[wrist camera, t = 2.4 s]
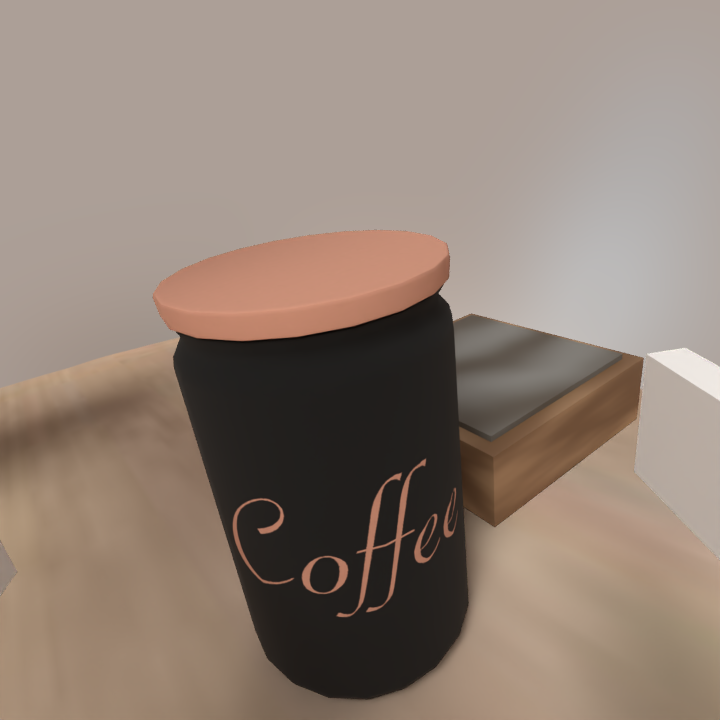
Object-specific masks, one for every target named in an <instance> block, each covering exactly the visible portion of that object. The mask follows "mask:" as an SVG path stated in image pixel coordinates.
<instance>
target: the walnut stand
mask: <svg viewBox="0 0 720 720" xmlns="http://www.w3.org/2000/svg"><path fill="white" fill-rule="evenodd" d="M453 326H454V337H455V357H456V376H457V395H458V414H459V433H460V453H461V472H462V491H463V507H465V508H466V509H468V510H469V511H471V512H472V513H474V514H476V515H477V516H479V517H480V518H482V519H483V520H485V521H486V522H488V523H489V524H491V525H492V526H494V527H495V526H497V525H498V524H499V523H501V522H502V521H503V520H505V519H506V518H507V517H509V516H510V515H511V514H512V513H514V512H515V511H516V510H518V509H519V508H520V507H522V506H523V505H524V504H525V503H527V502H528V501H529V500H531V499H532V498H533V497H535V496H536V495H537V494H539V493H540V492H541V491H542V490H544V489H545V488H546V487H548V486H549V485H550V484H552V483H553V482H554V481H556V480H557V479H558V478H559V477H561V476H562V475H563V474H565V473H566V472H567V471H569V470H570V469H571V468H572V467H574V466H575V465H576V464H578V463H579V462H580V461H582V460H583V459H584V458H586V457H587V456H588V455H589V454H591V453H592V452H593V451H595V450H596V449H597V448H599V447H600V446H601V445H603V444H604V443H605V442H606V441H608V440H609V439H610V438H612V437H613V436H614V435H616V434H617V433H618V432H619V431H621V430H622V429H623V428H625V427H626V426H627V425H629V424H630V423H631V422H633V421H634V420H635V419H636V418H637V410H638V402H639V393H640V383H641V376H642V368H643V359H644V358H642V357H638V356H634V355H630V354H626V353H622V352H619V351H615V350H611V349H607V348H603V347H599V346H595V345H592V344H588V343H584V342H580V341H576V340H572V339H568V338H564V337H560V336H557V335H552V334H549V333H545V332H541V331H537V330H533V329H529V328H525V327H521V326H518V325H513V324H510V323H506V322H502V321H498V320H494V319H490V318H487V317H482V316H479V315H475V314H469V315H467V316H464V317H462V318H460V319H457V320H455V321H453Z"/></svg>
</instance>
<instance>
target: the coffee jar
mask: <svg viewBox="0 0 720 720" xmlns="http://www.w3.org/2000/svg"><path fill="white" fill-rule="evenodd" d="M449 267H450V256H449V250H448V246H447V243H445V242H443V241H441V240H439V239H437V238H435V237H433V236H430V235H426V234H420V233H414V232H408V231H390V230H366V231H344V232H334V233H325V234H316V235H307V236H302V237H295V238H289V239H283V240H277V241H272V242H268V243H263V244H259V245H254V246H250V247H245V248H241V249H237V250H234V251H231V252H227V253H224V254H221V255H217V256H214V257H210V258H208V259H205V260H203V261H200V262H198V263H195V264H193V265H191V266H188V267H185V268H183V269H181V270H179V271H178V272H176V273H175V274H173V275H171V276H170V277H168V278H166V279H165V280H163V281H162V282H160V284H159V286H158V287H157V289H156V290H155V292H154V293H153V299H154V302H155V304H156V306H157V309H158V312H159V314H160V316H161V317H162V319H163V320H164V322H165V323H166V325H167V326H168V328H169V329H170V330H174V331H176V333H177V334H178V335H180V340H179V342H178V345H177V348H176V351H175V354H174V356H173V360H174V369H175V373H176V376H177V379H178V382H179V386H180V389H181V392H182V395H183V398H184V402H185V405H186V408H187V411H188V415H189V418H190V421H191V424H192V427H193V431H194V434H195V437H196V440H197V444H198V447H199V450H200V453H201V456H202V460H203V463H204V466H205V469H206V473H207V476H208V479H209V482H210V486H211V489H212V492H213V495H214V498H215V502H216V505H217V508H218V511H219V515H220V518H221V521H222V524H223V527H224V531H225V534H226V537H227V540H228V544H229V547H230V550H231V553H232V556H233V560H234V563H235V566H236V569H237V573H238V576H239V579H240V582H241V585H242V589H243V592H244V595H245V598H246V602H247V605H248V608H249V611H250V615H251V618H252V621H253V624H254V627H255V631H256V633H257V635H258V638H259V640H260V642H261V645H262V647H263V649H264V652H265V654H266V656H267V659H268V660H270V661H271V662H272V663H273V664H274V665H275V666H276V667H277V668H278V669H279V670H280V671H281V672H282V673H283V674H284V675H285V676H286V677H287V678H288V679H289V680H290V681H292V682H293V683H295V684H296V685H299V686H301V687H304V688H306V689H309V690H311V691H313V692H316V693H318V694H321V695H323V696H326V697H328V698H350V699H371V698H374V697H378V696H381V695H385V694H388V693H391V692H395V691H398V690H402V689H403V688H406V687H407V686H408V685H410V684H411V683H413V682H414V681H416V680H417V679H419V678H420V677H422V676H423V675H425V674H426V673H427V672H429V671H430V670H432V669H433V668H435V667H436V666H437V664H438V663H439V662H440V660H441V659H442V658H443V656H444V655H445V654H446V652H447V651H448V650H449V648H450V647H451V646H452V644H453V643H454V642H455V640H456V639H457V637H458V636H459V634H460V631H461V627H462V624H463V620H464V617H465V613H466V610H467V607H468V587H467V568H466V549H465V530H464V510H463V491H462V472H461V453H460V433H459V414H458V395H457V376H456V357H455V337H454V326H453V319H452V313H451V310H450V306H449V304H448V303H447V302H446V301H445V300H444V299H443V298H442V297H441V296H440V295H439V294H438V293H439V291H440V290H441V288H442V286H443V285H444V283H445V282H446V280H448V278H449Z"/></svg>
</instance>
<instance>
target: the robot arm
mask: <svg viewBox="0 0 720 720" xmlns="http://www.w3.org/2000/svg"><path fill="white" fill-rule="evenodd" d="M634 472H635V473H636V474H637V475H638V476H639V477H640V478H641V479H642V481H643V482H644V483H645V484H646V485H647V486H648V487H649V488H650V489H651V490H652V491H653V492H654V493H655V494H656V495H657V496H658V497H659V498H660V499H661V500H662V501H663V502H664V503H665V504H666V505H667V506H668V507H669V508H670V509H671V510H672V512H673V513H674V514H675V515H676V516H677V517H678V518H679V519H680V520H681V521H682V522H683V523H684V524H685V525H686V526H687V527H688V528H689V529H690V530H691V531H692V532H693V533H694V534H695V535H696V536H697V537H698V538H699V539H700V540H701V542H702V543H703V544H704V545H705V546H706V547H707V548H708V549H709V550H710V551H711V552H712V553H713V554H714V555H715V556H716V557H717V558H718V559H719V560H720V367H719V366H717V365H716V364H714V363H712V362H710V361H708V360H707V359H705V358H703V357H701V356H699V355H697V354H696V353H694V352H692V351H690V350H688V349H687V348H681V349H674V350H668V351H662V352H656V353H649V354H646V362H645V372H644V381H643V391H642V400H641V410H640V419H639V429H638V439H637V448H636V458H635V467H634ZM16 573H17V570H16V568H15V566H14V564H13V563H12V561H11V559H10V557H9V555H8V554H7V552H6V550H5V548H4V546H3V544H2V543H1V541H0V596H1V595H2V593H3V592H4V590H5V589H6V587H7V586H8V585H9V583H10V582H11V580H12V579H13V577H14V576H15V575H16Z"/></svg>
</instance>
